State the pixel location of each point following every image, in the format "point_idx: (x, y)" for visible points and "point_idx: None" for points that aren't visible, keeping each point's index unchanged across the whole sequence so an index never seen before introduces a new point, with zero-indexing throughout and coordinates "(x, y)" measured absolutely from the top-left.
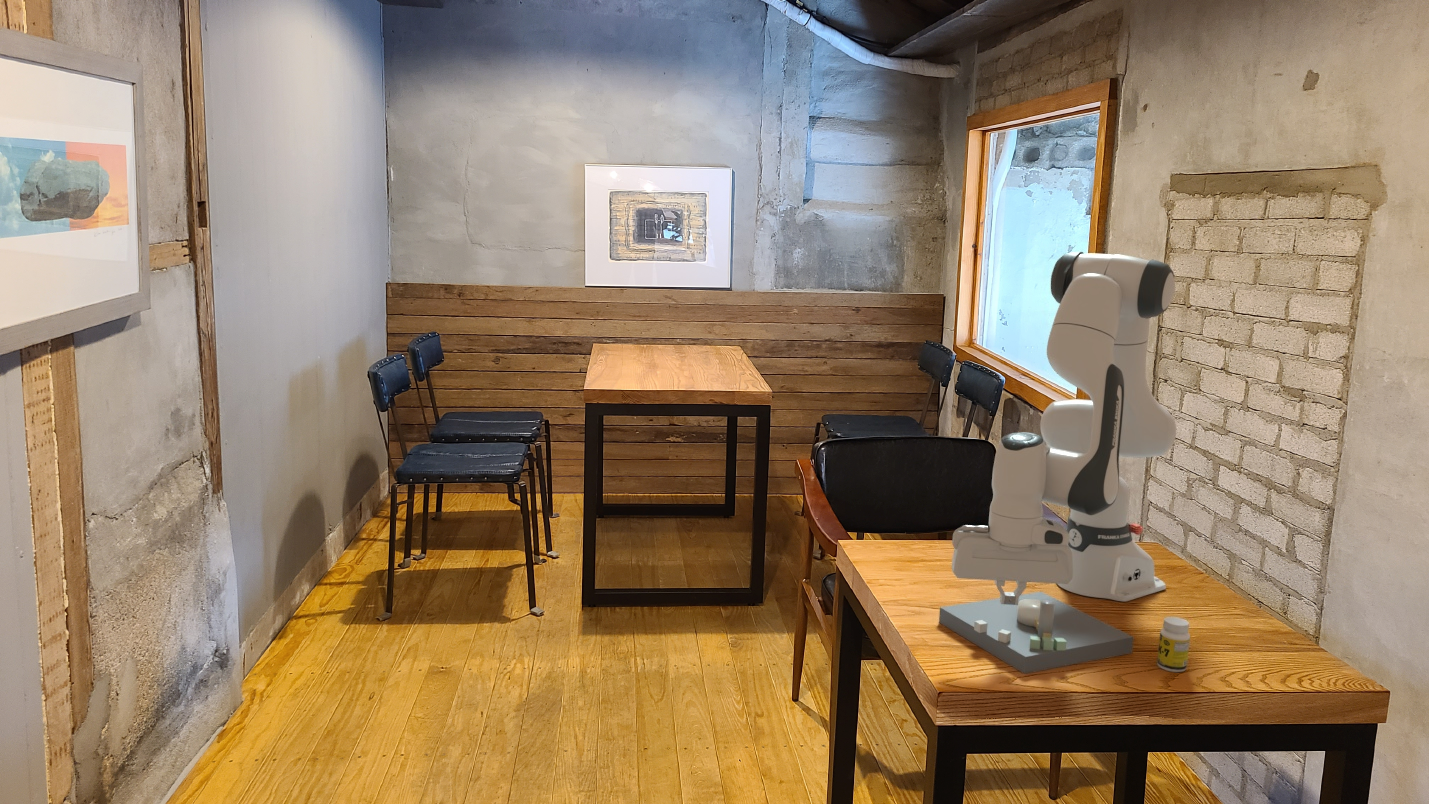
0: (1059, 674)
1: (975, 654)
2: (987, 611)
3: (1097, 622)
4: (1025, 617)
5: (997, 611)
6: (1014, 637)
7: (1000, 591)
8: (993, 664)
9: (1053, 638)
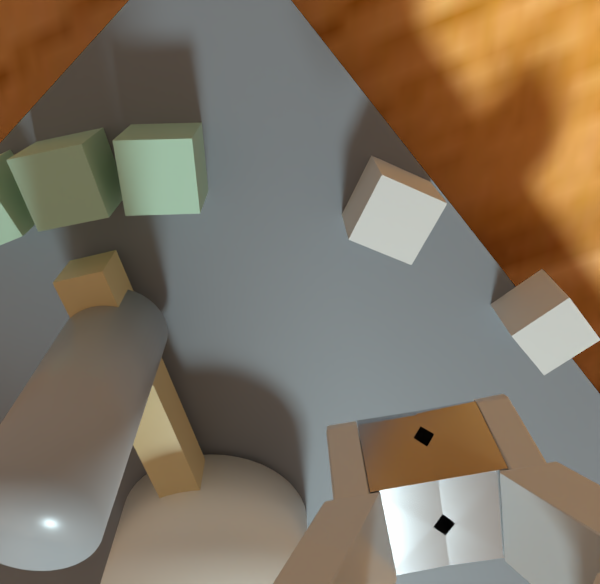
0: (8, 9)
1: (528, 144)
2: None
3: None
4: (259, 498)
5: None
6: (315, 275)
7: (597, 495)
8: (429, 20)
9: None
